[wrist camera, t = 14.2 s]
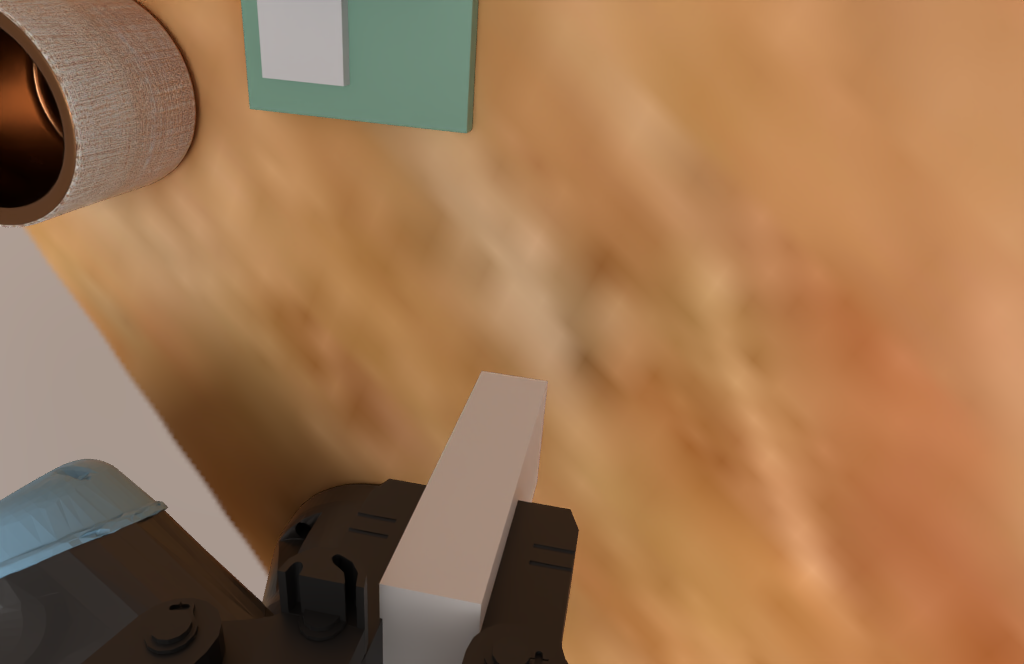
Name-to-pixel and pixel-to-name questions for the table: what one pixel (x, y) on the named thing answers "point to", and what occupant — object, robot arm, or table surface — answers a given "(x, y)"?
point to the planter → (86, 105)
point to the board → (364, 60)
